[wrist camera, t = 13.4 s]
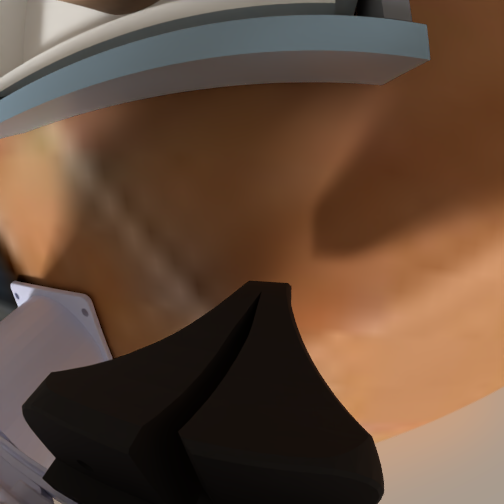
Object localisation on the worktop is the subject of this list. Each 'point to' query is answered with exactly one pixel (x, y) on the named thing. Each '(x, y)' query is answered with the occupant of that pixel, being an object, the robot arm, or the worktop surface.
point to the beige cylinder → (114, 5)
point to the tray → (186, 51)
